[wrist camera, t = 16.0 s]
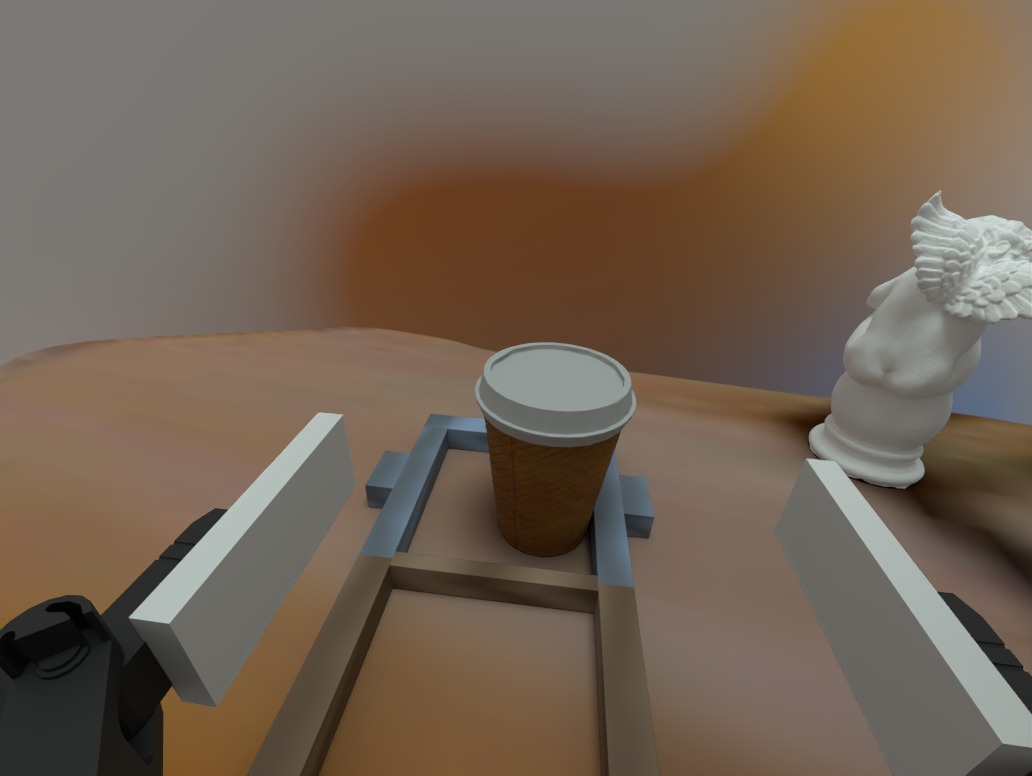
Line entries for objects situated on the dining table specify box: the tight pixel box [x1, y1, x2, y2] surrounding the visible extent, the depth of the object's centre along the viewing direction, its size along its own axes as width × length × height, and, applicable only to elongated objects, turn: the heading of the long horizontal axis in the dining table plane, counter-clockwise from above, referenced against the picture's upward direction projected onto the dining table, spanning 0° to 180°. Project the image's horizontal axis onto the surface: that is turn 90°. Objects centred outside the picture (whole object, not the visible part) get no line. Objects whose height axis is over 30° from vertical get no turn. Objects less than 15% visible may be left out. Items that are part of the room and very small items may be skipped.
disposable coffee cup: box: [475, 343, 636, 556], centre depth 29 cm, size 10×10×12 cm
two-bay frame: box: [247, 414, 659, 776], centre depth 27 cm, size 20×31×2 cm, turn 174°
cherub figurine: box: [808, 191, 1032, 489], centre depth 34 cm, size 12×12×22 cm
